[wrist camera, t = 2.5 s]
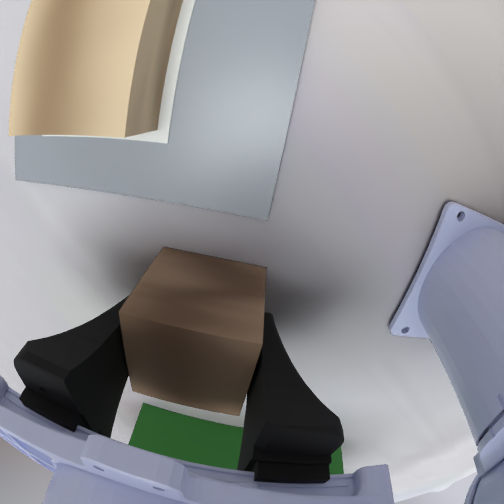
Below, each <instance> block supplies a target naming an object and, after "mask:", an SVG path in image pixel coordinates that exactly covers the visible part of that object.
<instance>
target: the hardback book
mask: <svg viewBox="0 0 504 504" xmlns="http://www.w3.org/2000/svg"><path fill="white" fill-rule="evenodd" d="M242 435H243V428H241V427H235V426H230V425H225V424H220V423H215V422H211V421H207V420H202V419H198V418H194V417H190V416H186V415H182V414H179V413H175V412H172V411H168V410H165V409H161V408H158V407H155V406H152V405H149V404H146V403H143V405H142V408H141V411H140V413H139V416H138V419H137V422H136V424H135V427H134V430H133V433H132V436H131V439H130V441H129V444H128V445H130V446H133V447H137V448H140V449H143V450H146V451H150V452H153V453H156V454H160V455H164V456H168V457H171V458H175V459H180V460H184V461H188V462H193V463H198V464H203V465H208V466H214V467H220V468H226V469H233V470H237V467H238V461H239V455H240V448H241V442H242ZM331 458H332V462H331V464H329V469H330V475H335V474H344V472H343V462H342V452H341V446H340V447H339V448H338V449H337V450H336V451H335V452H334V453H332V454H331Z"/></svg>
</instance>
